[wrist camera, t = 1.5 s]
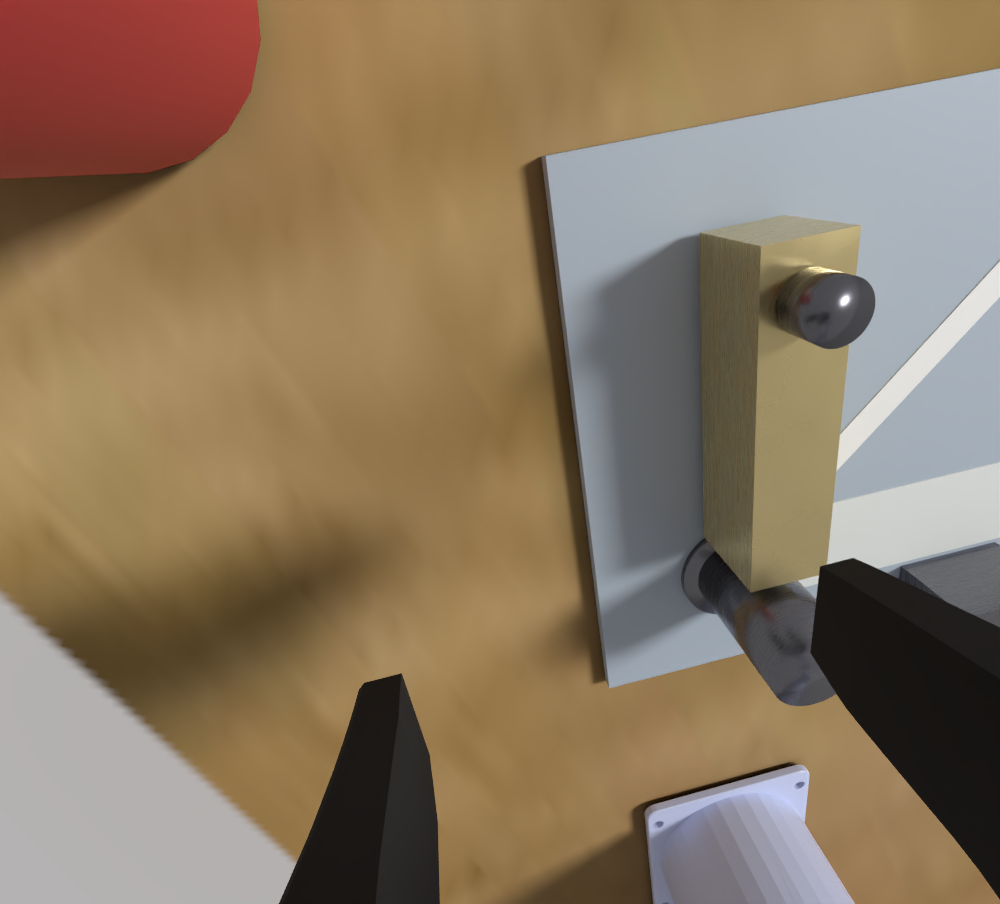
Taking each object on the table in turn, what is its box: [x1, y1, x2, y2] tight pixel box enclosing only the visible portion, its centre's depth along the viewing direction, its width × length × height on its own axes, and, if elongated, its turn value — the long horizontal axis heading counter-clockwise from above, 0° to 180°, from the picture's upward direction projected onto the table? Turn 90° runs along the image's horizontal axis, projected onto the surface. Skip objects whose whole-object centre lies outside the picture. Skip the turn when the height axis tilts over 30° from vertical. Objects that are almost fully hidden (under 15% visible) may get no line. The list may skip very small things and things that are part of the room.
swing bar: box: [699, 215, 875, 592], centre depth 17 cm, size 10×2×4 cm, turn 10°
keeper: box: [899, 542, 1000, 627], centre depth 23 cm, size 2×4×3 cm, turn 100°
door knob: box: [681, 538, 836, 706], centre depth 20 cm, size 4×4×5 cm
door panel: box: [541, 68, 1000, 688], centre depth 20 cm, size 19×18×1 cm
